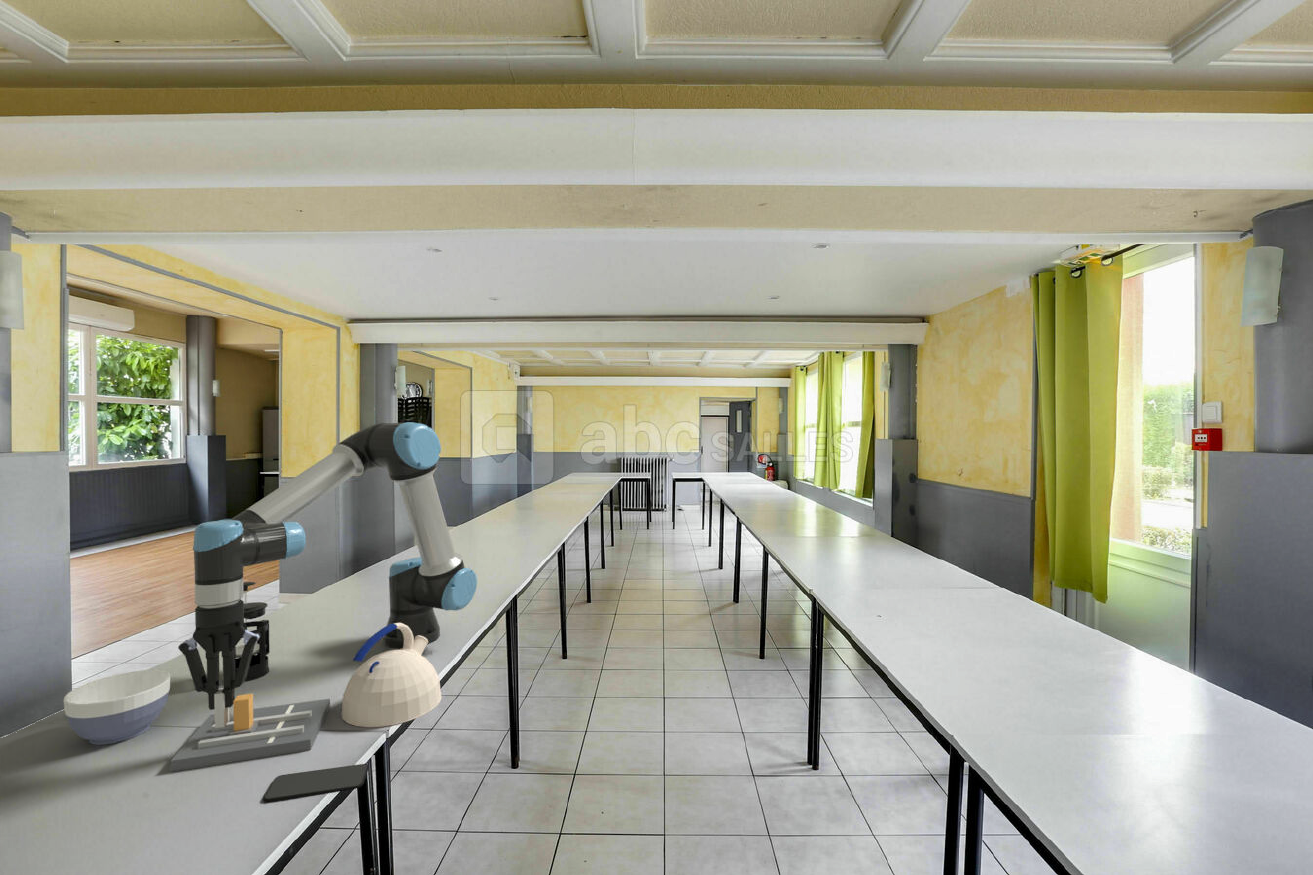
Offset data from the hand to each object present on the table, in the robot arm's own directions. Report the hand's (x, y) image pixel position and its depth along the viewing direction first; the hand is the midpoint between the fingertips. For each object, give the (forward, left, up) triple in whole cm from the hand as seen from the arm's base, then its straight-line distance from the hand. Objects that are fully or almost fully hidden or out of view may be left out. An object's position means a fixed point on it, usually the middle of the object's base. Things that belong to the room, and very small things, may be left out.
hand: (222, 724), depth 114 cm
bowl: (+22, -13, -5) cm, 26 cm away
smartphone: (-20, +20, -5) cm, 29 cm away
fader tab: (-3, 0, -2) cm, 4 cm away
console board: (-5, -2, -4) cm, 7 cm away
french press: (+7, -38, -5) cm, 39 cm away
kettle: (-29, -8, -5) cm, 31 cm away
